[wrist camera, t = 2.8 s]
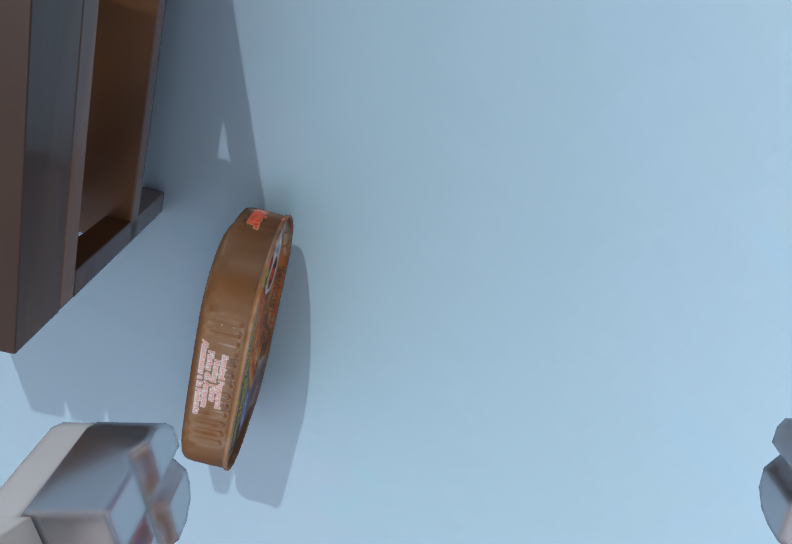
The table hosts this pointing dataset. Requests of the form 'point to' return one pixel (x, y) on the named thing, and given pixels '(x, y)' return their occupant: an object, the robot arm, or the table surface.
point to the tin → (235, 335)
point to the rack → (71, 147)
